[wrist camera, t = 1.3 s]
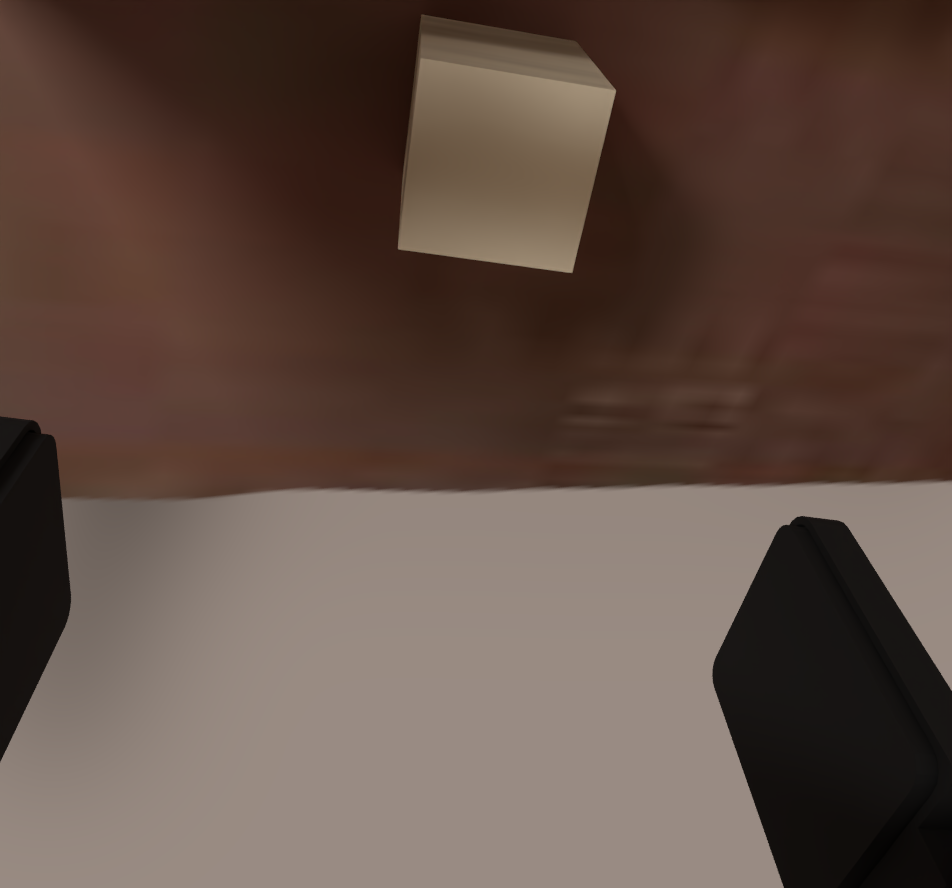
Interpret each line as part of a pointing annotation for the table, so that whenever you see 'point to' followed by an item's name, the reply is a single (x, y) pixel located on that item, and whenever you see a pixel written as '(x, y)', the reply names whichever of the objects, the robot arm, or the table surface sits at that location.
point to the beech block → (501, 145)
